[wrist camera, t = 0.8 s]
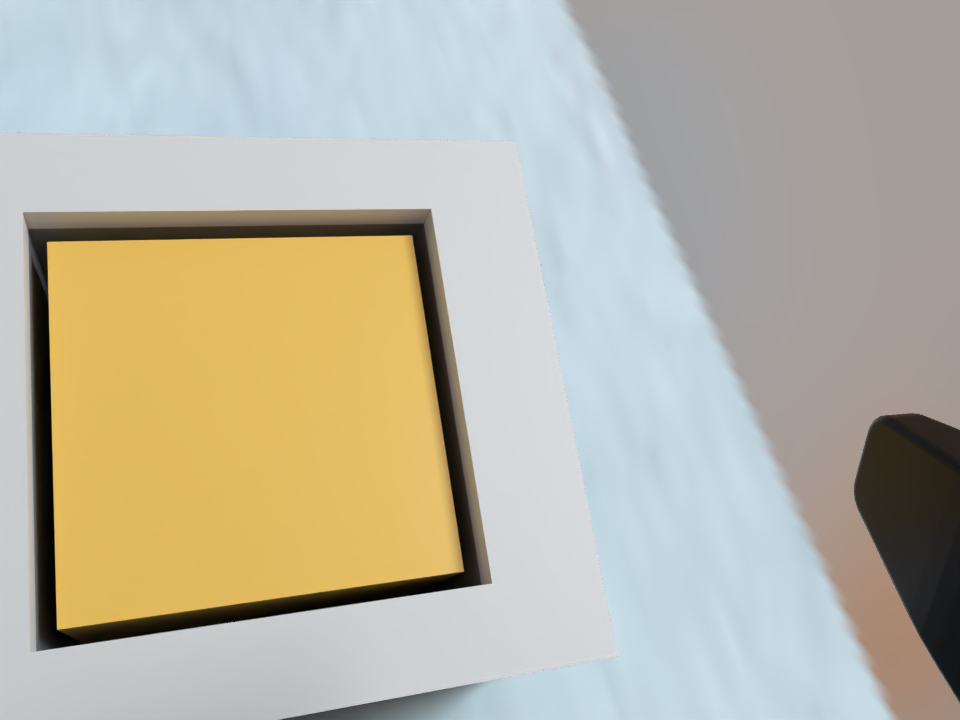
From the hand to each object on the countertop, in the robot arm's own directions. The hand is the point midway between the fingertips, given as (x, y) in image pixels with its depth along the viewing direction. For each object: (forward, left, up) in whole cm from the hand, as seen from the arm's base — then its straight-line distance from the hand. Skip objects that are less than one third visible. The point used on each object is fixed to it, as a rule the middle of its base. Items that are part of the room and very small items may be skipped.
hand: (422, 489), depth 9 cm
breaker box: (+3, +1, -13) cm, 13 cm away
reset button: (+3, +1, -11) cm, 12 cm away
